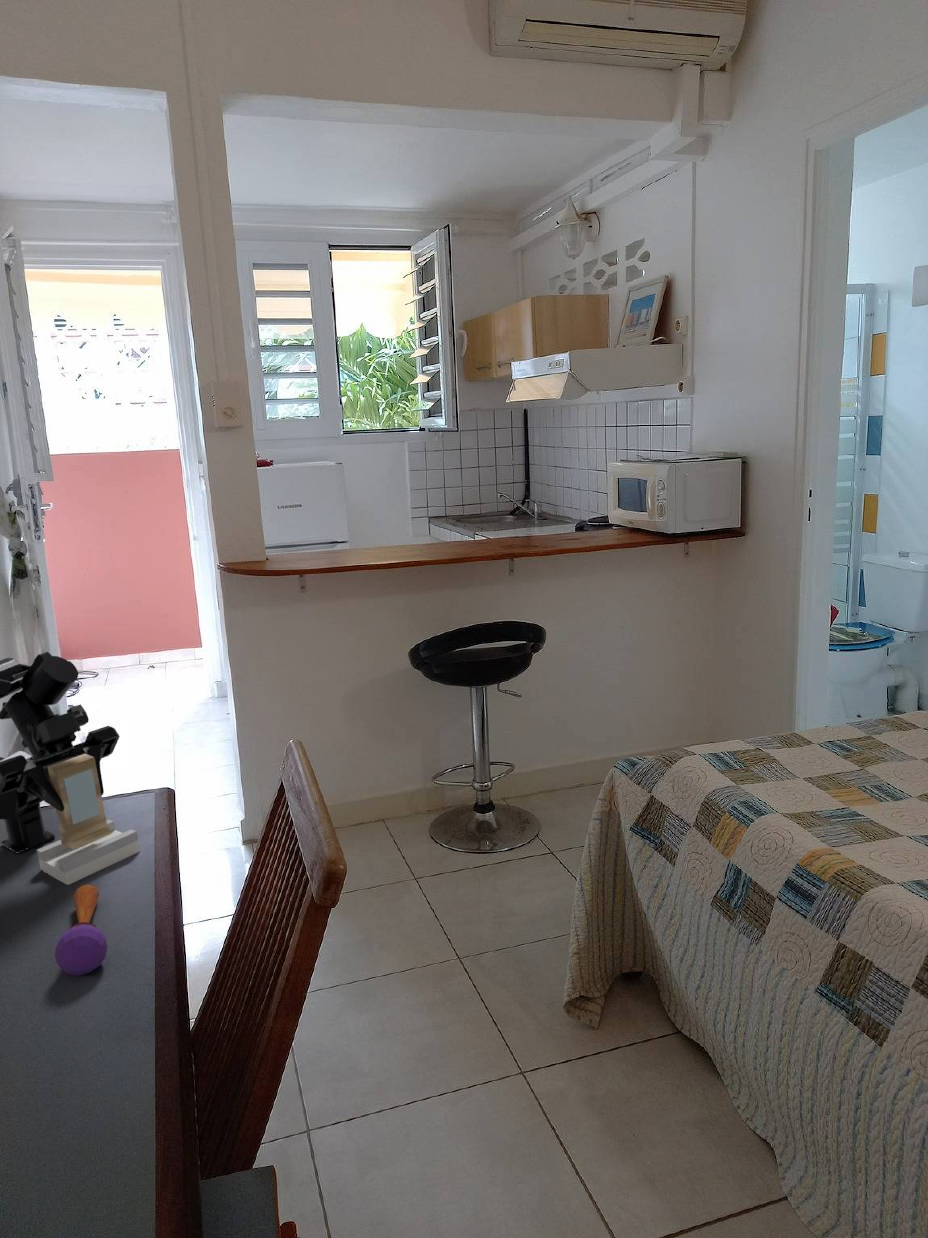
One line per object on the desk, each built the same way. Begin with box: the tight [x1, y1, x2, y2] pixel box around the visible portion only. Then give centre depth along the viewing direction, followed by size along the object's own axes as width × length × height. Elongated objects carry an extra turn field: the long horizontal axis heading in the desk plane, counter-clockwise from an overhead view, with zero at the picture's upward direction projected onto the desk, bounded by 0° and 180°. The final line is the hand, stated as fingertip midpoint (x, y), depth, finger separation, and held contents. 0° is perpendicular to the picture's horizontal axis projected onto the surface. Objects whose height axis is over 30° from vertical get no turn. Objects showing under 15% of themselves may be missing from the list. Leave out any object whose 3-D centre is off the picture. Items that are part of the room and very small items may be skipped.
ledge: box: [36, 818, 141, 886], centre depth 138 cm, size 9×12×4 cm
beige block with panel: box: [48, 754, 110, 850], centre depth 136 cm, size 4×6×13 cm, turn 140°
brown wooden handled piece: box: [54, 884, 108, 976], centre depth 115 cm, size 6×6×20 cm
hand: (82, 802), depth 135 cm, fingers closed on beige block with panel, 6 cm apart
